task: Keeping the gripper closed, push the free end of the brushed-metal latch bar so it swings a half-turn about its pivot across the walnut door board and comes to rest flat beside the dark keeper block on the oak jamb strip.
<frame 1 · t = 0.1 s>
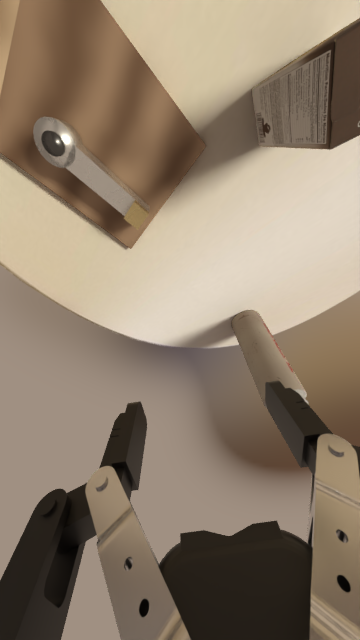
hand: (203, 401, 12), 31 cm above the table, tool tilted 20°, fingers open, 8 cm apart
door board: (78, 120, 24), on the table
thermos bottle: (245, 320, 53), on the table
latch bar: (98, 178, 26), point 4 cm above the table, hinge at 0.0°
coffee box: (287, 100, 25), on the table
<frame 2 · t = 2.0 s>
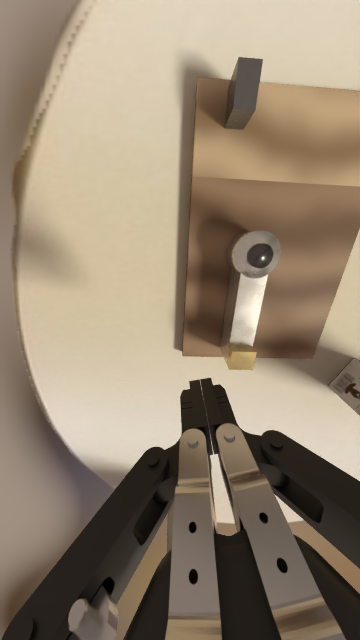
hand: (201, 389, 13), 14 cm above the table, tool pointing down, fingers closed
door board: (265, 254, 23), on the table
keeper block: (236, 108, 17), resting on door board
latch bar: (244, 302, 21), point 4 cm above the table, hinge at 0.0°
coffee box: (358, 380, 31), on the table
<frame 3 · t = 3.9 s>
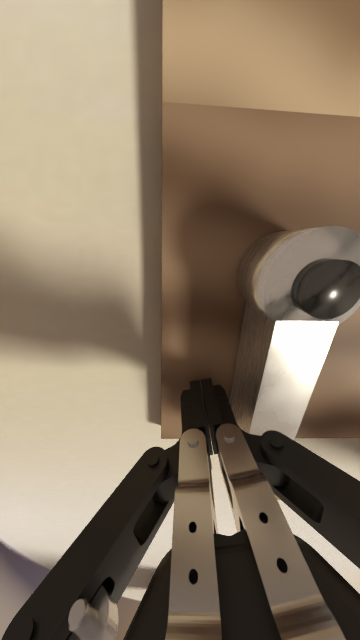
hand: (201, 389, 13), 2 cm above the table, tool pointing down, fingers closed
door board: (309, 272, 12), on the table
latch bar: (275, 373, 11), point 4 cm above the table, hinge at 0.6°, touching gripper
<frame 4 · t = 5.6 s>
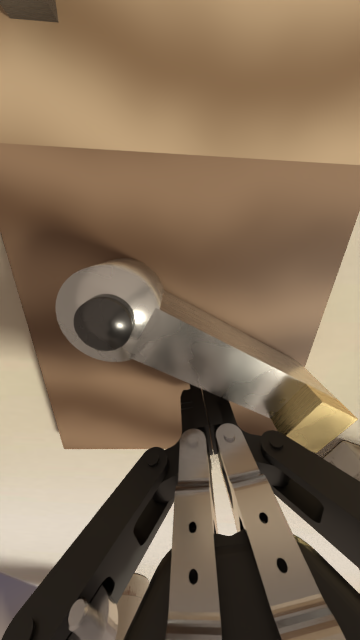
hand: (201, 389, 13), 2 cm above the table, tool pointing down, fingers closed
door board: (177, 292, 13), on the table
thermos bottle: (125, 580, 31), on the table
latch bar: (206, 353, 10), point 4 cm above the table, hinge at 63.1°, touching gripper
coffee box: (351, 465, 21), on the table
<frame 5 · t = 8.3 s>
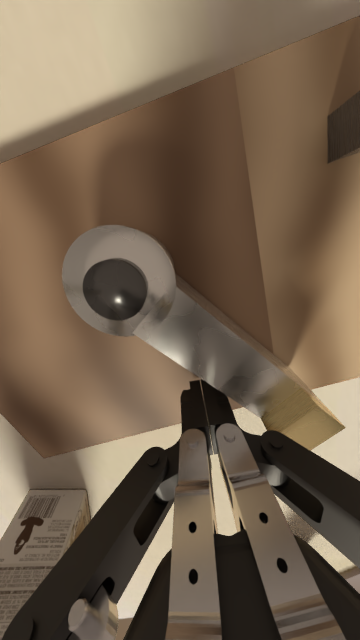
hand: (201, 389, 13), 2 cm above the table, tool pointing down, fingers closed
door board: (156, 311, 13), on the table
keeper block: (358, 129, 9), resting on door board
latch bar: (209, 343, 10), point 4 cm above the table, hinge at 123.1°, touching gripper
coffee box: (64, 507, 22), on the table
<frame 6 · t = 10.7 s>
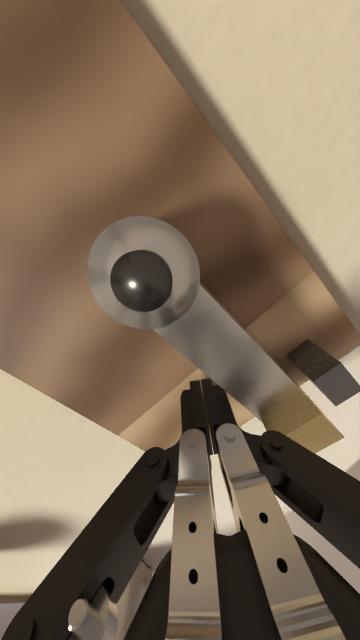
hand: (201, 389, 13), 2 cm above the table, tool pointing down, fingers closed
door board: (125, 298, 13), on the table
keeper block: (307, 358, 14), resting on door board
latch bar: (221, 344, 10), point 4 cm above the table, hinge at 179.1°, touching gripper
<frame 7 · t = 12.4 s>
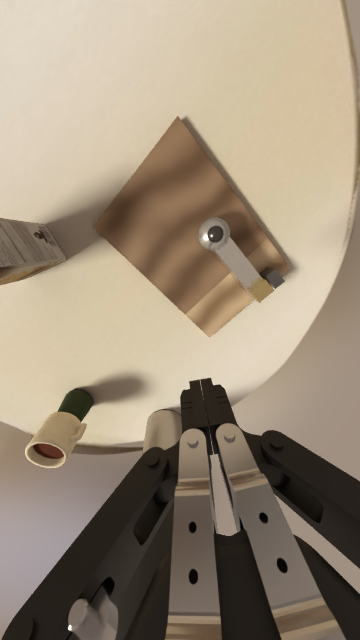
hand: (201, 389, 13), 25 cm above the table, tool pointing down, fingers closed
door board: (196, 248, 33), on the table
keeper block: (267, 276, 34), resting on door board
latch bar: (234, 260, 30), point 4 cm above the table, hinge at 179.1°
coffee box: (35, 252, 32), on the table
character mug: (81, 397, 45), on the table
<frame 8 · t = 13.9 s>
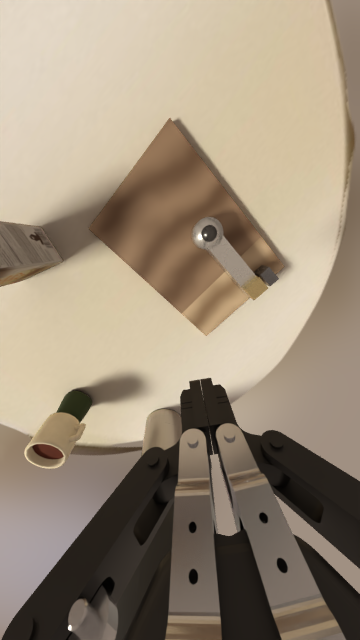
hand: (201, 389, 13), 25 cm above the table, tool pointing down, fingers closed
door board: (190, 248, 33), on the table
keeper block: (262, 274, 34), resting on door board
latch bar: (228, 259, 30), point 4 cm above the table, hinge at 179.1°
coffee box: (32, 254, 33), on the table
character mug: (80, 398, 45), on the table
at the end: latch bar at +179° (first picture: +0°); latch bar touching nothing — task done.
